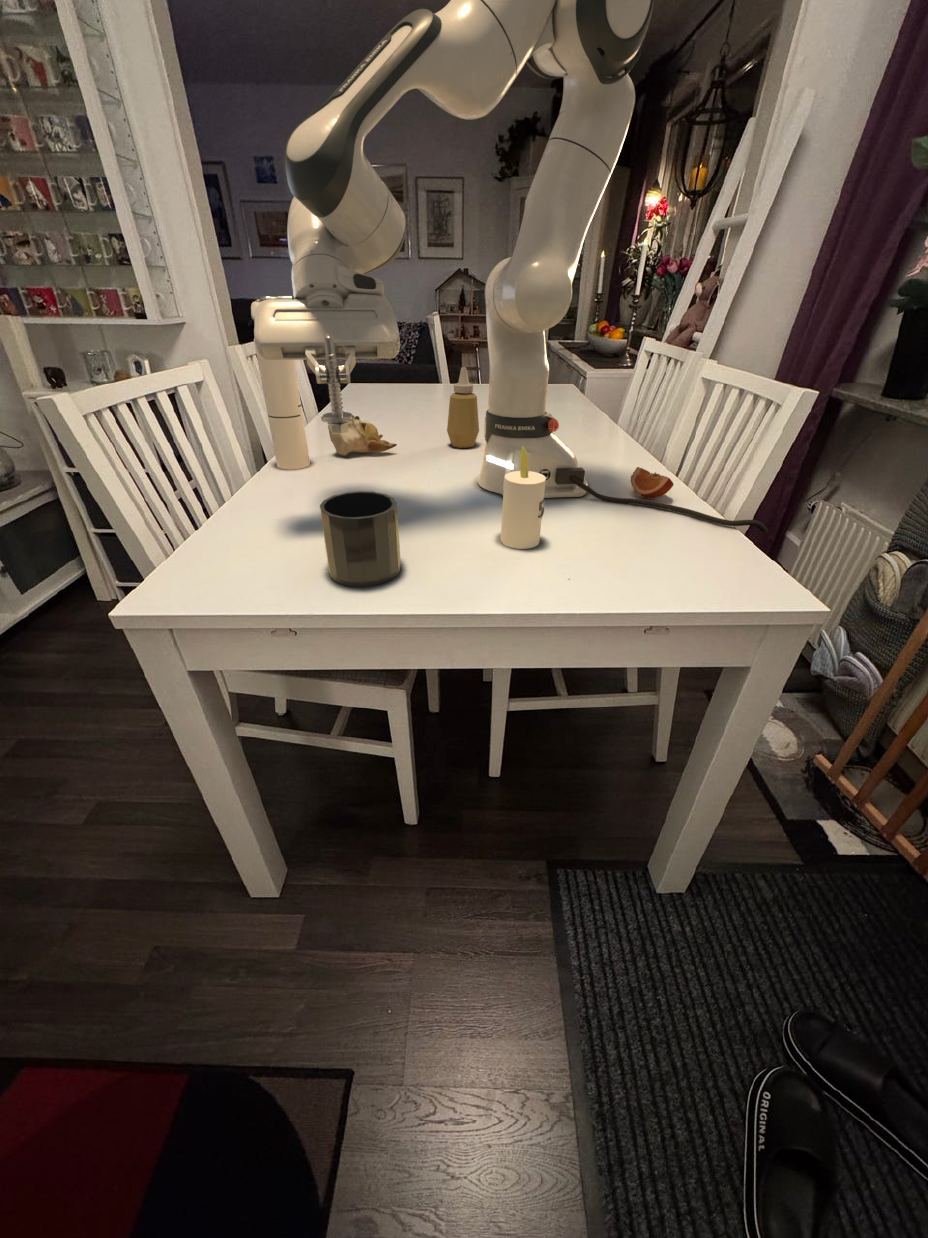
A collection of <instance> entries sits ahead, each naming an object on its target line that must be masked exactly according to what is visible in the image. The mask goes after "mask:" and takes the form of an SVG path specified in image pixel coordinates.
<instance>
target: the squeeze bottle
mask: <svg viewBox="0 0 928 1238" xmlns="http://www.w3.org/2000/svg"><path fill="white" fill-rule="evenodd" d="M459 373H460V374H459V378H458V382H457V383H454V384H453V393H452V394H450V395H449V403H448V405H449V407H448V416H447V425H446V426H447V427H446V432H447V436H448V440H449V442H450V445H451V446H452V447H454V448H459V449H467V448H472V447H474V446H475V444H476V441H477V438H478V435H479V433H480V422H479V409H478V408H479V407H478V406H479V405H478V395H476V394H475V393H474V384H473V383H470V381H469V376H468V375H469V374H468V369H467V367H465V366H463V367H461V368H460V372H459Z"/></svg>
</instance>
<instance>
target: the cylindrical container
mask: <svg viewBox="0 0 928 1238" xmlns="http://www.w3.org/2000/svg"><path fill="white" fill-rule="evenodd" d="M253 344H254V348H255V354H256V359H257V366H258V370H259V376H260V381H261V385H262V386H261V387H262V392H263V397H264V398H263V399H264V403H265V409H266V413H267V419H268V425H269V429H270V435H271V440H272V445H273V450H274V451H273V452H274V457H275V462H276V467H277V468H279V469H282V470H300V469H305V468H307V467H309V466H310V465H311V461H310V454H309V449H308V448H309V447H308V441H307V434H306V429H305V428H306V427H305V420H304V414H303V406H302V401H301V395H300V387H299V382H298V381H299V380H298V374H297V367H296V360H265V359H264V358H263V357H262V356H261V355H260V354H259V353H258V350H257V347H256V343H255V338H253Z"/></svg>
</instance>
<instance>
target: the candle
mask: <svg viewBox="0 0 928 1238" xmlns="http://www.w3.org/2000/svg"><path fill="white" fill-rule="evenodd" d="M545 481H546V477H545V476H544V475H542V474H540V473H536V472H531V471H529V463H528V456H527V452H526V450H525V448H524V447H523V446H522V448H521V465H520V471H514V472H509V473H507V474H506V475H505V477H504V493H503V495H502V497H503V498H502V511H501V513H502V514H501V528H500V529H501V531H500V541H501V543H502V544H503V545H504V546H506V547H508V548H512V549H518V550H528V549H532V548H535V547H538V545H539V544H540V539H541V529H542V519H543V516H544V513H545V507H544V504H545V503H546V500H545V498H544V491H545Z"/></svg>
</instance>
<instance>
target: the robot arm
mask: <svg viewBox="0 0 928 1238" xmlns="http://www.w3.org/2000/svg"><path fill="white" fill-rule="evenodd" d="M654 3H655V0H449V2H448V3H447V4H446V5H445V6H444V7H443V8H441V9H439V11H437V12H435V13H434V12H433V11H431V10H430V9H428V8H418V9H416V10H414V11H411V12H410V13H409V14H407V15H406V16H405V17H403V18H402V19H400V20H399V21H398V22H397V24H395V25H394V26H393V27H392V28H391V29H390V30H389V31H388V32H387V33H386V34H385V35H384V37H383V38H381V39H380V40H379V42H377V44H376V45H375V46H374V47H373V48H372V50H371V51H370V52H369V53H368V54H367V55H366V56H365V57H364V59H362V61H361V62H360V63H359V64H358V65H357V66H356V67H355V69H354V70H353V71H352V72H351V73H350V74H349V75H348V76H347V77H346V79H345V80H344V81H343V82H342V83H341V84H340V85H339V86H338V87H337V88H336V90H335V91H334V92H333V93H332V94H331V96H329V98H328V99H326V101H324V102H323V103H322V104H321V105H320V106H318V108H315V110H314V111H312V112H311V113H310V114H308V115H307V116H306V117H304V118H303V120H301V122H299V123H298V124H297V125H296V126H295V128H294V129H293V130H292V132H291V133H290V135H289V136H288V139H287V141H286V143H285V149H284V166H285V174H286V179H287V186H288V188H289V192H290V193H291V194H292V196H293V198H292V199H291V203H290V205H289V210H288V214H287V230H286V231H287V246H288V247H287V248H288V255H289V259H290V262H291V264H292V267H291V271H290V273H291V274H290V275H291V286H292V295H278V296H271V295H262V296H260V298H257V299H256V300H254V301H252V303H251V305H250V315H251V319H252V320H253V322H254V328H253V335H254V338H253V339H255V343H256V347H257V350H258V353H259V354H260V355H261V356H262V357H263V358H264V359H265V360H295V361H300V360H304V361H305V360H306V364H307V366H308V367H309V369H310V370H311V371H312V372H313V373H314V375H315V379H316V384H319V385H321V384H322V385H323V384H328V380H327V379H328V376H327V371H326V370H327V367H326V366H325V365H320V364H319V363H318V360H326V357H325V355H326V353H325V345H324V337H325V336H326V335H327V334H329V335H331V336H332V337H333V341H334V348H335V353H336V357H337V358H338V359H337V360H345V362H344V364H341V365H340V364H338V367H339V368H338V371H339V373H338V376H340V377H339V380H340V382H339V384H351V373H352V371H353V369H354V368H355V366H356V364H357V361H356V360H362V359H363V360H364V359H365V360H366V359H368V360H369V359H370V360H371V359H372V360H373V359H394V358H396V357H397V355H398V354H399V353H400V350H401V349H400V347H401V338H400V337H401V336H400V330H399V326H398V321H397V317H396V315H395V311H394V308H393V306H392V304H391V303H390V301H389V300H388V299H387V298H386V291H385V285H384V282H383V280H381V279H380V278H378V277H374V276H371V275H369V274H372V273H374V272H378V271H380V270H382V269H384V268H386V267H387V266H389V265H390V264H391V263H392V262H394V261H395V260H396V258H397V257H398V255H399V253H400V251H401V250H402V247H403V245H404V241H405V238H406V233H407V217H406V214H405V212H404V210H403V209H402V207H401V206H400V204H399V202H398V201H397V200H396V197H394V195H393V193H392V192H391V190H390V189H389V187H388V186H387V185H386V183H385V182H384V180H382V179H381V177H380V175H379V174H378V173H377V171H376V169H375V168H374V166H373V165H372V164H371V162H370V161H369V159H368V158H367V156H366V155H365V152H364V142H365V139H366V137H367V136H368V134H369V133H371V131H372V130H373V129H374V128H375V126H376V125H378V123H380V121H381V120H382V119H383V118H384V117H385V116H386V114H387V113H388V112H389V111H390V110H391V109H392V108H393V107H394V106H395V105H396V103H397V102H398V101H399V100H400V99H401V98H402V96H404V95H405V94H406V93H408V91H409V92H410V91H411V90H415V89H417V91H420V92H421V93H422V94H423V95H424V96H426V97H427V98H428V99H429V100H430V101H431V102H432V103H433V104H435V105H436V106H437V107H439V108H440V109H441V110H443V111H445V112H446V113H448V114H450V115H451V116H454V117H456V118H458V119H461V120H467V121H470V120H471V121H472V120H478V119H480V118H481V119H482V118H484V117H486V116H488V114H490V113H491V112H492V111H493V110H494V109H495V108H496V107H497V106H498V104H499V103H500V102H501V101H502V99H503V98H504V97H505V95H506V94H507V92H508V91H509V89H510V87H511V86H512V85H513V83H514V82H515V80H516V79H517V77H518V75H519V74H520V73H521V72H522V70H523V68H524V66H525V64H526V66H527V67H528V68H529V70H530V71H532V72H533V73H535V74H536V75H537V76H539V77H541V78H544V79H548V80H557V79H561V78H563V89H562V90H563V91H562V99H561V105H560V108H559V113H558V115H557V119H556V121H555V123H554V125H553V127H552V130H551V133H550V135H549V137H548V140H547V143H546V144H545V145H546V146H545V148H544V151H543V153H542V156H541V158H540V161H539V164H538V167H537V169H536V172H535V174H534V177H533V180H532V182H531V185H530V187H529V190H528V193H527V194H526V197H525V200H524V210H523V216H522V221H521V224H520V229H519V231H518V235H517V240H516V243H515V247H514V250H513V253H512V255H511V256H510V257H507V258H505V259H503V260H501V261H500V262H498V263H497V264H496V265H495V266H494V268H492V270H491V271H490V274H489V275H488V277H487V279H486V282H485V286H484V301H485V318H486V320H485V321H486V339H487V349H488V363H489V370H488V371H489V373H488V374H489V375H488V377H489V379H488V404H487V405H488V406H487V410H486V411H485V417H484V440H485V446H484V452H483V460H482V465H481V469H480V473H479V476H478V478H477V484H478V485H479V486H480V487H481V488H483V489H484V490H485V491H486V490H487V491H489V492H493V493H496V494H498V495H501V496H503V493H504V477H505V475H506V474H507V473H509V472H514V471H520V465H521V448H522V446H523V447H524V448H525V450H526V452H527V456H528V463H529V471H531V472H536V473H540V474H542V475H544V476H545V477H546V481H545V491H544V499H551V498H553V499H554V498H579V497H580V498H581V497H583V496H585V495H586V494H587V493H588V494H590V495H591V496H592V497H594V498H596V499H597V500H598V499H599V500H601V501H605V502H608V503H617V504H632V505H639V506H645V507H651V508H657V509H662V510H667V511H670V512H671V511H672V512H676V513H679V514H680V513H681V514H685V515H687V516H692V517H694V518H697V519H701V520H704V521H706V522H710V523H713V524H718V525H721V526H725V527H744V526H753V527H756V528H757V529H759V531H760V532H763V533H769V532H770V531H769V529H768V527H767V526H766V525H765V524H764V523H763V522H761V521H759V520H756V519H739V520H731V519H725V518H719V517H716V516H712V515H710V514H706V513H703V512H700V511H697V510H693V509H690V508H687V507H686V508H685V507H683V506H677V505H673V504H668V503H663V502H658V501H652V500H646V499H640V498H631V497H615V496H609V495H605V494H601V493H599V492H597V491H596V490H594V489H592V488H591V487H590V486H589V485H588V481H587V479H586V478H585V475H586V470H585V469H584V467H579V464H578V460H577V459H578V458H577V456H576V454H575V452H574V451H573V450H572V448H570V447H569V446H568V445H567V444H566V443H565V442H564V441H563V440H562V439H560V437H558V436H557V435H556V434H555V433H554V432H557V431H558V430H559V428H560V423H559V421H558V419H556V418H555V417H554V416H553V414H552V413H548V412H547V411H546V410H547V409H546V408H547V399H548V387H549V379H550V378H549V377H550V364H549V361H548V356H547V355H548V354H547V347H546V333H545V331H547V330H549V329H551V328H553V327H555V326H556V325H558V324H559V323H560V322H561V321H562V320H563V319H564V317H565V316H566V314H567V313H568V311H569V309H570V307H571V303H572V299H573V282H574V278H575V274H576V271H577V268H578V263H579V260H580V255H581V252H582V248H583V244H584V242H585V238H586V236H587V232H588V230H589V227H590V224H591V222H592V220H593V218H594V215H595V213H596V211H597V209H598V206H599V203H600V201H601V200H602V197H603V194H604V192H605V190H606V189H607V185H608V183H609V181H610V179H611V176H612V174H613V171H614V169H615V167H616V164H617V162H618V160H619V156H620V153H621V152H622V149H623V145H624V142H625V139H626V136H627V133H628V130H629V126H630V123H631V120H632V116H633V112H634V109H635V105H636V90H635V85H634V83H633V81H632V78H631V76H630V75H629V73H630V72H631V71H632V70H633V68H634V67H635V65H636V64H637V63H638V61H639V59H640V56H641V54H642V50H643V49H642V48H643V43H644V40H645V37H646V35H647V32H648V30H649V26H650V22H651V19H652V14H653V10H654Z"/></svg>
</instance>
